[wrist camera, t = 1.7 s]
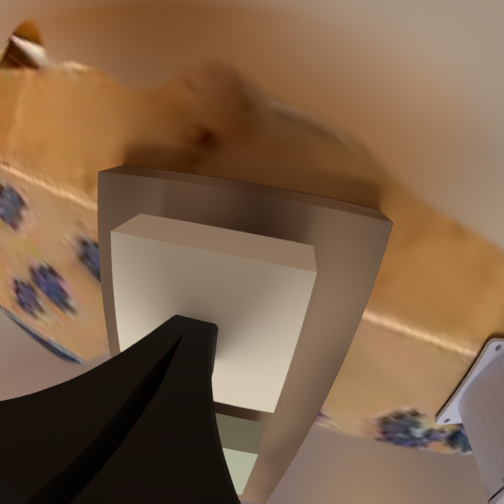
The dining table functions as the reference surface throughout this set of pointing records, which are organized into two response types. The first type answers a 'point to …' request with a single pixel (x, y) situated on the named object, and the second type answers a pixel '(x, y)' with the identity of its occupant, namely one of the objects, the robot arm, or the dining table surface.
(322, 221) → the board
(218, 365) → the key
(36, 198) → the dining table surface
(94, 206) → the dining table surface
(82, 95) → the dining table surface
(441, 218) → the dining table surface
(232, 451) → the key middle
